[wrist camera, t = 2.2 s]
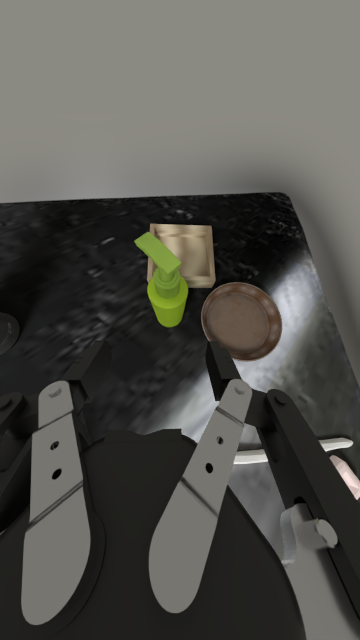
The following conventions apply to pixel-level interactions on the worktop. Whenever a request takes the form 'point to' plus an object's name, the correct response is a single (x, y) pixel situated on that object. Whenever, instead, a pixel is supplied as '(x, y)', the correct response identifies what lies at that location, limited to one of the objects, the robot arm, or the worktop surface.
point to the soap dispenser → (164, 281)
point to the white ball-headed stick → (260, 456)
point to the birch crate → (188, 252)
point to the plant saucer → (242, 321)
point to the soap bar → (347, 475)
